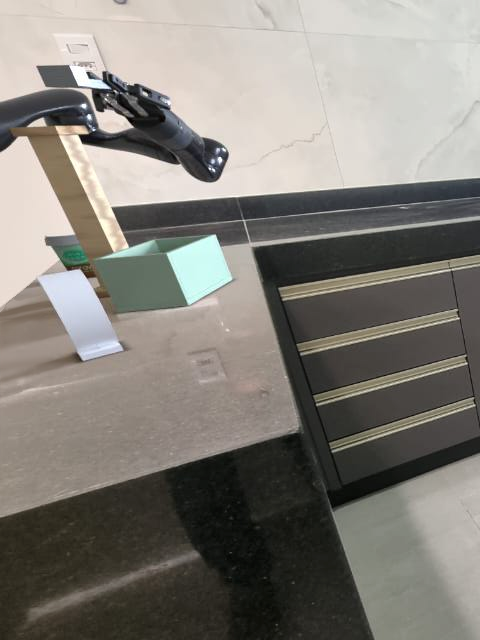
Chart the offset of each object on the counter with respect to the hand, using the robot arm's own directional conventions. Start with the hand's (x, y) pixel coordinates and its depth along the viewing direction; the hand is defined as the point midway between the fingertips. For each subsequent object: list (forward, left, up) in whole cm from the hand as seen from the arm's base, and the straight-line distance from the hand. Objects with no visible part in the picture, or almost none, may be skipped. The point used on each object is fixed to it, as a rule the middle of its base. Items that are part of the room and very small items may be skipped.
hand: (96, 76), depth 99 cm
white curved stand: (-14, -41, -40) cm, 59 cm away
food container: (-15, +29, -40) cm, 52 cm away
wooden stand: (-10, +5, -40) cm, 42 cm away
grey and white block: (-2, -3, -2) cm, 4 cm away
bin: (-2, -11, -40) cm, 42 cm away
